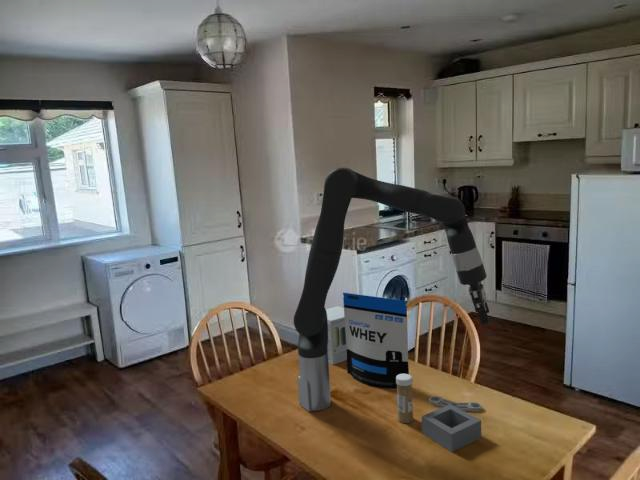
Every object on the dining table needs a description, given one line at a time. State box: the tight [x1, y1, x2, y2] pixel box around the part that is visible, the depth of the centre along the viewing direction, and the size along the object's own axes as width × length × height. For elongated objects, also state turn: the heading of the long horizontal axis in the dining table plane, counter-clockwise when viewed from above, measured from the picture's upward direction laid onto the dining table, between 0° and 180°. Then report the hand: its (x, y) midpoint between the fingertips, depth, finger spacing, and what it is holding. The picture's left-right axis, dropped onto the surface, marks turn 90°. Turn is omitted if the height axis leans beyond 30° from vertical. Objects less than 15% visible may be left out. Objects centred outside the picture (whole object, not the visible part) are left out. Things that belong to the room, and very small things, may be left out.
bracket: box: [428, 395, 483, 413], centre depth 147 cm, size 8×2×15 cm
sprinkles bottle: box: [396, 373, 414, 424], centre depth 140 cm, size 5×5×14 cm
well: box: [421, 404, 482, 453], centre depth 131 cm, size 11×11×5 cm
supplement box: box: [325, 305, 347, 366], centre depth 189 cm, size 13×13×18 cm
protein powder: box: [342, 292, 410, 390], centre depth 164 cm, size 10×24×30 cm, turn 54°
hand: (485, 318), depth 138 cm, fingers open, 8 cm apart
